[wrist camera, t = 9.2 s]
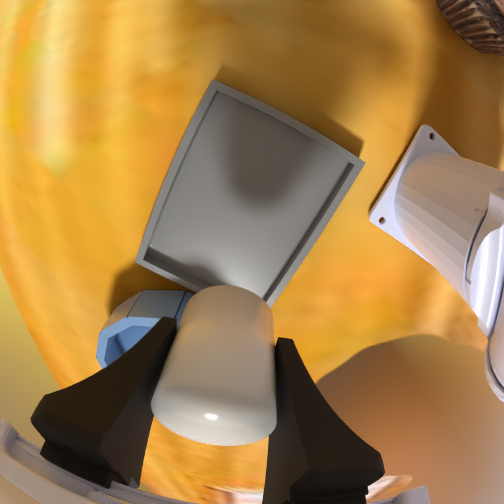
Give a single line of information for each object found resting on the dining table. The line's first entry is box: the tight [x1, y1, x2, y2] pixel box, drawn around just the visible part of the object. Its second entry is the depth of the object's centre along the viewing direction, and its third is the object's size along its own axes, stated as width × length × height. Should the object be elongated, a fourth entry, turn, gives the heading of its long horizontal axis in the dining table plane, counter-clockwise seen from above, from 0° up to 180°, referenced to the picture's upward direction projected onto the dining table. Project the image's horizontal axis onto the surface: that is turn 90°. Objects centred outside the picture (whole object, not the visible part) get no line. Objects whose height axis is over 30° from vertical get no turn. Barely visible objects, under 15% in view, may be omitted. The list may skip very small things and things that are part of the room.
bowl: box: [96, 290, 195, 369], centre depth 22 cm, size 14×14×4 cm
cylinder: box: [151, 285, 277, 446], centre depth 11 cm, size 4×4×6 cm
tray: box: [135, 80, 365, 308], centre depth 17 cm, size 10×13×1 cm
